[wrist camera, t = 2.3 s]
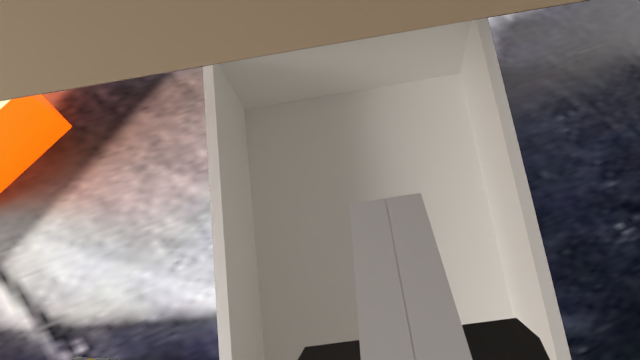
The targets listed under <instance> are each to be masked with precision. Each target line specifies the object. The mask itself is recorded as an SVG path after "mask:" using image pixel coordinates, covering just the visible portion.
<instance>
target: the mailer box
mask: <svg viewBox="0 0 640 360" xmlns="http://www.w3.org/2000/svg"><path fill="white" fill-rule="evenodd" d="M203 84H204V101H205V119H206V136H207V153H208V170H209V187H210V204H211V221H212V239H213V256H214V273H215V290H216V307H217V324H218V342H219V359H220V360H298V358H299V357H300V355H301V353H302V351H303V350H304V348H305V347H309V346H316V345H324V344H332V343H340V342H347V341H355V340H359V328H358V313H357V299H356V285H355V270H354V256H353V241H352V227H351V213H350V204H351V203H358V202H364V201H371V200H378V199H384V198H391V197H398V196H404V195H411V194H418V193H421V195H422V198H423V201H424V205H425V208H426V211H427V214H428V218H429V221H430V224H431V227H432V230H433V234H434V237H435V240H436V243H437V247H438V250H439V253H440V256H441V259H442V263H443V266H444V269H445V272H446V276H447V279H448V282H449V285H450V289H451V292H452V295H453V298H454V301H455V305H456V308H457V311H458V314H459V318H460V321H461V324H462V325H464V324H472V323H479V322H487V321H495V320H503V319H510V318H517V319H518V320H520V321H521V322H522V323H523V324H524V325H525V326H526V327H528V328H529V329H530V330H531V331H532V332H533V333H535V334H536V335H537V336H538V337H539V338H540V340H541V342H542V344H543V346H544V348H545V350H546V352H547V354H548V357H549V359H550V360H571V356H570V352H569V348H568V343H567V339H566V335H565V331H564V327H563V323H562V319H561V315H560V311H559V307H558V303H557V299H556V295H555V291H554V287H553V282H552V278H551V274H550V270H549V266H548V262H547V258H546V254H545V250H544V246H543V242H542V238H541V234H540V230H539V226H538V221H537V217H536V213H535V209H534V205H533V201H532V197H531V193H530V189H529V185H528V181H527V177H526V173H525V169H524V165H523V160H522V156H521V152H520V148H519V144H518V140H517V136H516V132H515V128H514V124H513V120H512V116H511V112H510V108H509V104H508V99H507V95H506V91H505V87H504V83H503V79H502V75H501V71H500V67H499V63H498V59H497V55H496V51H495V47H494V43H493V38H492V34H491V30H490V26H489V22H488V18H483V19H477V20H471V21H466V22H460V23H454V24H448V25H442V26H436V27H431V28H425V29H419V30H413V31H407V32H402V33H396V34H390V35H384V36H378V37H372V38H367V39H361V40H355V41H349V42H343V43H337V44H332V45H326V46H320V47H314V48H308V49H302V50H297V51H291V52H285V53H279V54H273V55H268V56H262V57H256V58H250V59H244V60H238V61H233V62H227V63H221V64H215V65H209V66H203Z"/></svg>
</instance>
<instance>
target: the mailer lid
mask: <svg viewBox="0 0 640 360" xmlns="http://www.w3.org/2000/svg"><path fill="white" fill-rule="evenodd" d="M582 1H588V0H0V101H5V100H11V99H17V98H23V97H29V96H34V95H40V94H46V93H52V92H58V91H64V90H69V89H75V88H81V87H87V86H93V85H99V84H104V83H110V82H116V81H122V80H128V79H133V78H139V77H145V76H151V75H157V74H163V73H168V72H174V71H180V70H186V69H192V68H198V67H203V66H209V65H215V64H221V63H227V62H233V61H238V60H244V59H250V58H256V57H262V56H268V55H273V54H279V53H285V52H291V51H297V50H302V49H308V48H314V47H320V46H326V45H332V44H337V43H343V42H349V41H355V40H361V39H367V38H372V37H378V36H384V35H390V34H396V33H402V32H407V31H413V30H419V29H425V28H431V27H436V26H442V25H448V24H454V23H460V22H466V21H471V20H477V19H483V18H489V17H495V16H501V15H506V14H512V13H518V12H524V11H530V10H536V9H541V8H547V7H553V6H559V5H565V4H571V3H576V2H582Z"/></svg>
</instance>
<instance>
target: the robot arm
mask: <svg viewBox="0 0 640 360" xmlns="http://www.w3.org/2000/svg"><path fill="white" fill-rule="evenodd" d="M350 213H351V227H352V241H353V256H354V270H355V285H356V299H357V313H358V328H359V340H355V341H347V342H340V343H332V344H324V345H316V346H309V347H305V348H304V350H303V351H302V353H301V355H300V357H299V358H298V360H550V359H549V357H548V354H547V352H546V350H545V348H544V346H543V344H542V342H541V340H540V338H539V337H538V336H537V335H536V334H535V333H533V332H532V331H531V330H530V329H529V328H528V327H526V326H525V325H524V324H523V323H522V322H521V321H520V320H518V319H517V318H510V319H503V320H495V321H487V322H479V323H472V324H464V325H462V324H461V321H460V318H459V314H458V311H457V308H456V305H455V301H454V298H453V295H452V292H451V289H450V285H449V282H448V279H447V276H446V272H445V269H444V266H443V263H442V259H441V256H440V253H439V250H438V247H437V243H436V240H435V237H434V234H433V230H432V227H431V224H430V221H429V218H428V214H427V211H426V208H425V205H424V201H423V198H422V195H421V193H418V194H411V195H404V196H398V197H391V198H384V199H378V200H371V201H364V202H358V203H351V204H350Z"/></svg>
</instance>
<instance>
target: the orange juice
mask: <svg viewBox="0 0 640 360" xmlns="http://www.w3.org/2000/svg"><path fill="white" fill-rule="evenodd" d="M71 127H72V126H71V125H70V124H69V123H68V122H67V120H66V119H65V118H64V117H63V116H62V115H61V114H60V113H59V112H58V111H57V110H56V109H55V108H54V107H53V106H52V105H51V104H50V103H49V102H48V101H47V100H46V99H45V98H44V96H43V95H42V94H40V95H34V96H29V97H23V98H17V99H11V100H5V101H0V193H1V192H2V191H3V190H4V189H5V188H6V187H8V186H9V185H10V184H11V183H12V182H13V181H14V180H15V179H16V178H17V177H18V176H19V175H20V174H22V173H23V172H24V171H25V170H26V169H27V168H28V167H29V166H30V165H31V164H32V163H33V162H35V161H36V160H37V159H38V158H39V157H40V156H41V155H42V154H43V153H44V152H45V151H46V150H47V149H49V148H50V147H51V146H52V145H53V144H54V143H55V142H56V141H57V140H58V139H59V138H60V137H62V136H63V135H64V134H65V133H66V132H67V131H68V130H69V129H70V128H71Z"/></svg>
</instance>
